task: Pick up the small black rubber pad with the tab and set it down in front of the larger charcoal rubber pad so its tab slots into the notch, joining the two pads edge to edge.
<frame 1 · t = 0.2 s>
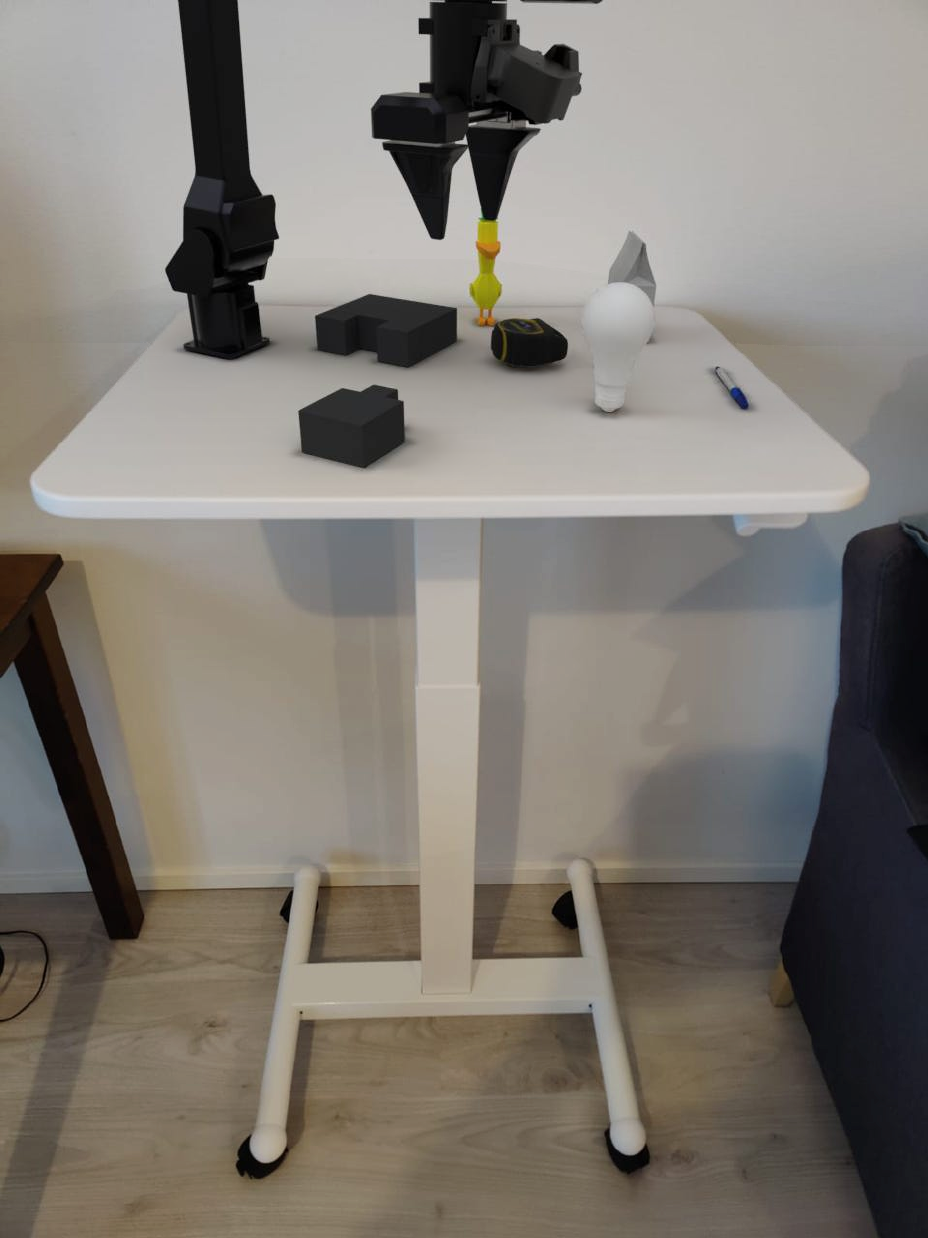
hand: (465, 229, 76), 14 cm above the table, tool pointing down, fingers open, 9 cm apart
toy figure: (485, 325, 104), on the table
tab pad: (354, 446, 75), on the table
lightbulb: (608, 413, 82), on the table
grey faceted shape: (625, 335, 102), on the table
tape measure: (529, 362, 93), on the table
blue marker pen: (729, 392, 87), on the table
notch pad: (388, 345, 97), on the table
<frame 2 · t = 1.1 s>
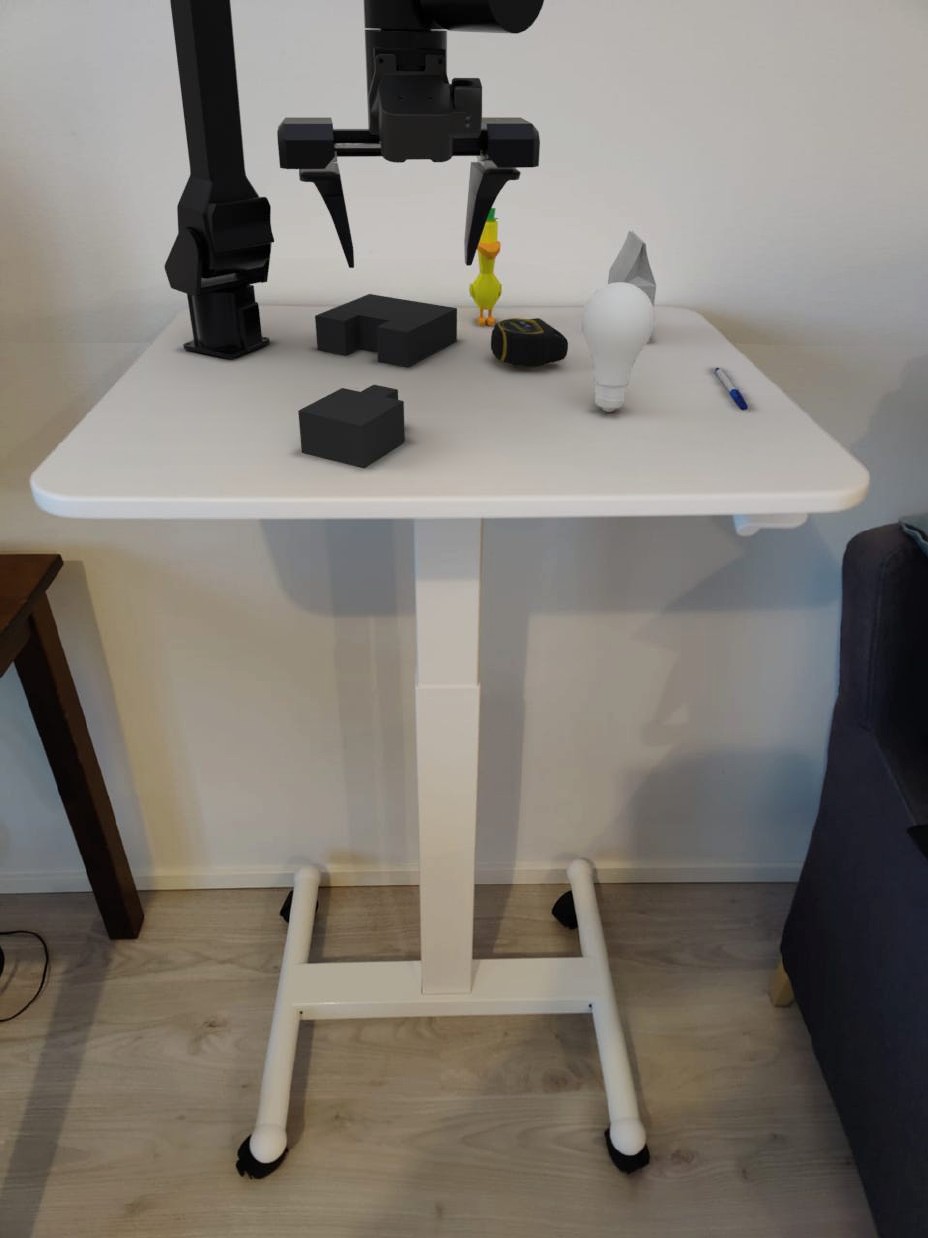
hand: (410, 265, 72), 13 cm above the table, tool pointing down, fingers open, 9 cm apart
nothing on the table moved.
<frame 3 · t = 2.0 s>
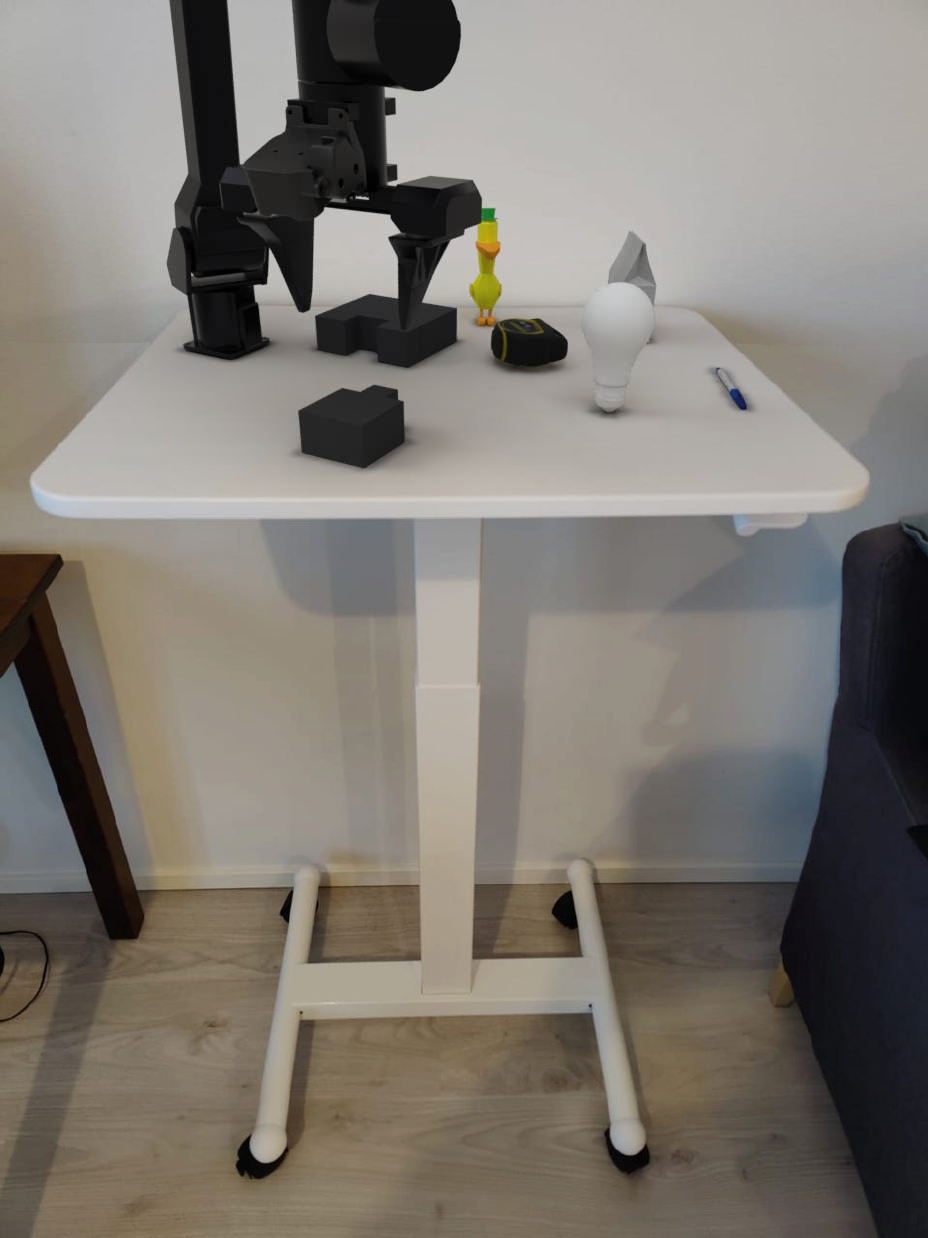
hand: (354, 320, 70), 10 cm above the table, tool pointing down, fingers open, 9 cm apart
nothing on the table moved.
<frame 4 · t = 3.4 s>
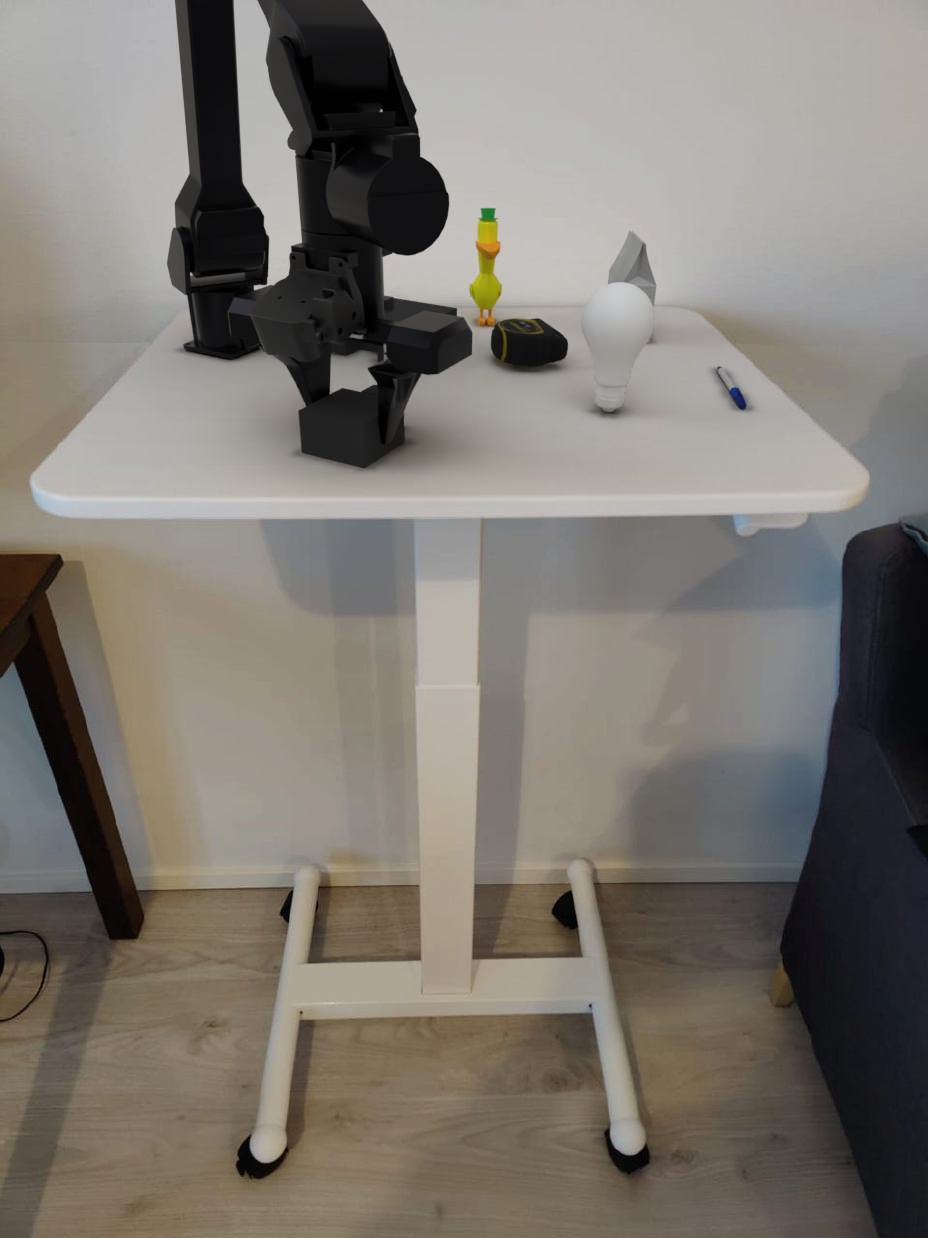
hand: (353, 434, 74), 1 cm above the table, tool pointing down, fingers closed on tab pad, 6 cm apart
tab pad: (354, 446, 75), on the table, touching gripper
everything else where it was.
when the fingers open (1 cm above the table, at t = 9.0 s): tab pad stays where it is, on the table.
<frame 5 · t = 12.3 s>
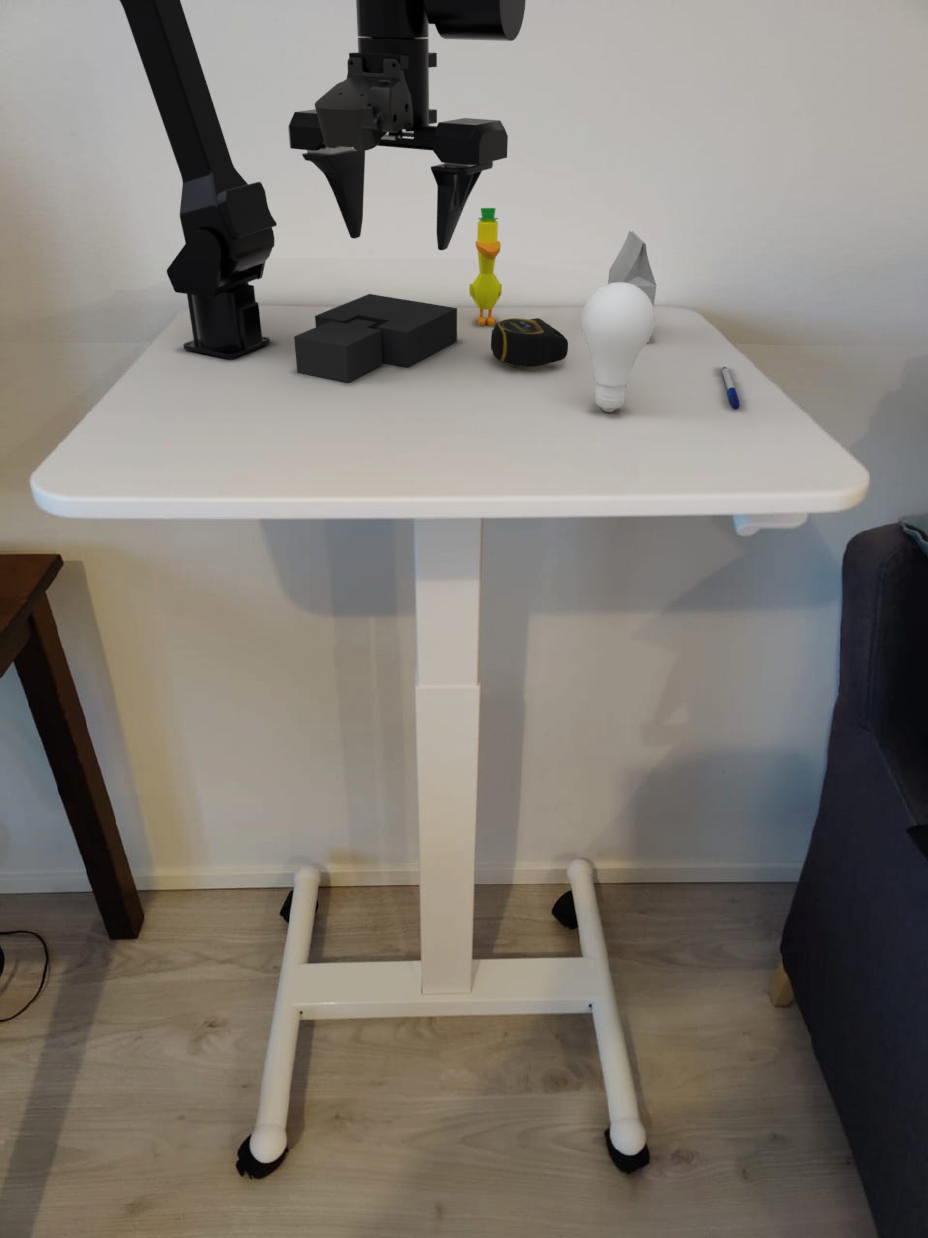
hand: (398, 243, 83), 12 cm above the table, tool pointing down, fingers open, 9 cm apart
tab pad: (340, 368, 90), on the table
everything else where it was.
at the end: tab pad 0.0 cm from the target spot on the table beside the notch pad, on the table; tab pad tilted 0°; the gripper is holding nothing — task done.
